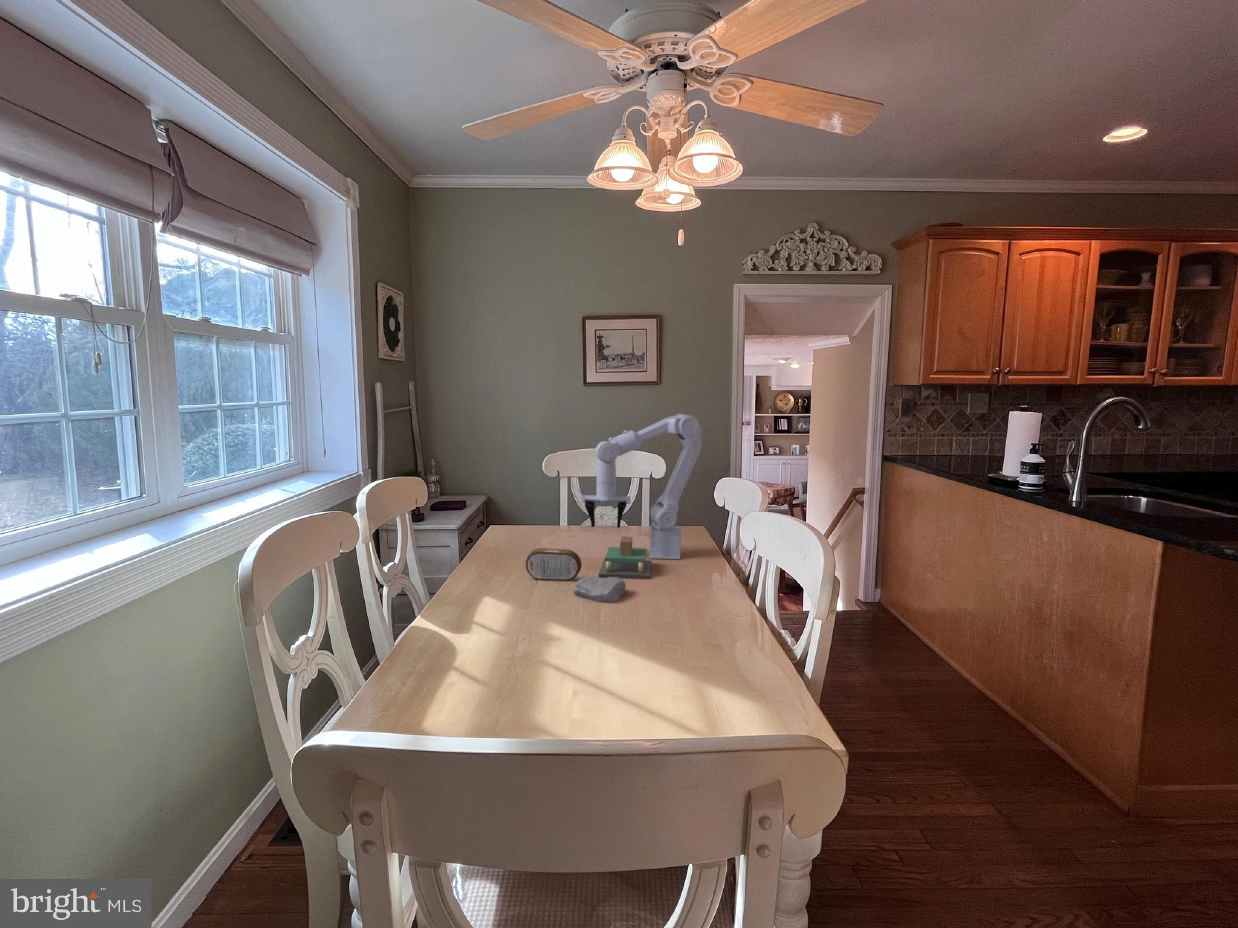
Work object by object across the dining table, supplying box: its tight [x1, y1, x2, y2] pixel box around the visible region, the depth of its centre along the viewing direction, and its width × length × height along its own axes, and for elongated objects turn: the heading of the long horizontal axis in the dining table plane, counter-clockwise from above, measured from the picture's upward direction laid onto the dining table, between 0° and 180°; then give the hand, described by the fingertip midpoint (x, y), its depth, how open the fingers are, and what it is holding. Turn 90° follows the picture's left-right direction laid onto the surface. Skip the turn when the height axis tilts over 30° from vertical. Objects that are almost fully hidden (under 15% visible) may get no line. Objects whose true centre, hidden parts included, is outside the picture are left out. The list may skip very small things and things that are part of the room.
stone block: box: [573, 574, 627, 603], centre depth 154 cm, size 12×5×10 cm
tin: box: [525, 547, 582, 582], centre depth 165 cm, size 15×3×8 cm, turn 84°
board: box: [604, 535, 647, 563], centre depth 173 cm, size 11×11×5 cm
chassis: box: [598, 558, 653, 580], centre depth 174 cm, size 14×14×4 cm
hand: (605, 526), depth 184 cm, fingers open, 7 cm apart
